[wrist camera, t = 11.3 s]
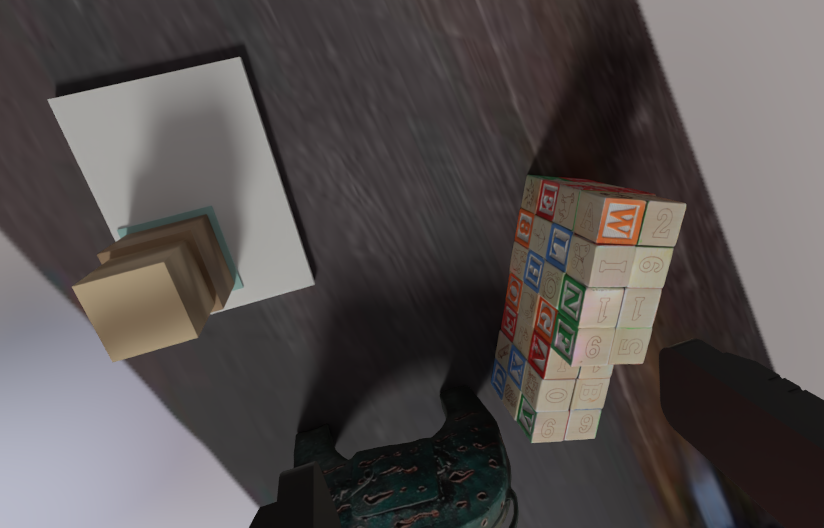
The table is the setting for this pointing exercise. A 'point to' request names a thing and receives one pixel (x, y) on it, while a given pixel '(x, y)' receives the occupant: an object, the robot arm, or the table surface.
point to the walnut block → (201, 246)
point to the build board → (191, 168)
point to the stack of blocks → (579, 299)
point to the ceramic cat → (421, 473)
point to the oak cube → (146, 300)
